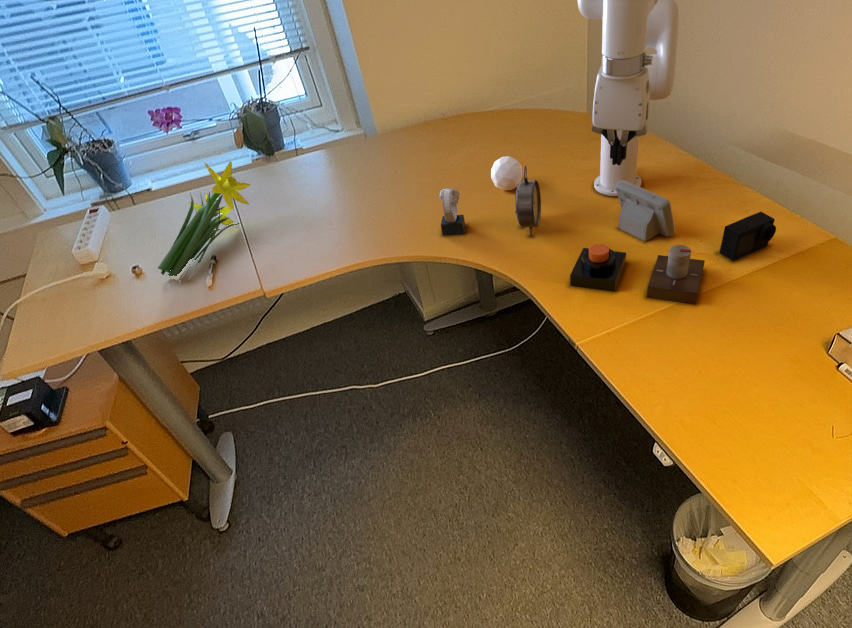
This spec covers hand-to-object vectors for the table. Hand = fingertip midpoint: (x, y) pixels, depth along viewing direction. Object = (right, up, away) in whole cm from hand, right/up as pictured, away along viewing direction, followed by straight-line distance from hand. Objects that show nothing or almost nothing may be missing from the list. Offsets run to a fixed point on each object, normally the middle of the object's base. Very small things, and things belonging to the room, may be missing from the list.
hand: (617, 161), depth 116 cm
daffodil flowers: (-101, -8, +38) cm, 108 cm away
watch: (-36, -4, +33) cm, 49 cm away
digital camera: (+32, -15, +14) cm, 38 cm away
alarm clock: (-17, -4, +30) cm, 35 cm away
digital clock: (+11, -6, +25) cm, 28 cm away
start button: (-2, -17, +10) cm, 20 cm away
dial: (+14, -21, +6) cm, 26 cm away
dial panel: (+14, -23, +8) cm, 29 cm away
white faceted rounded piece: (-22, +12, +47) cm, 53 cm away
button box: (-2, -20, +14) cm, 24 cm away
